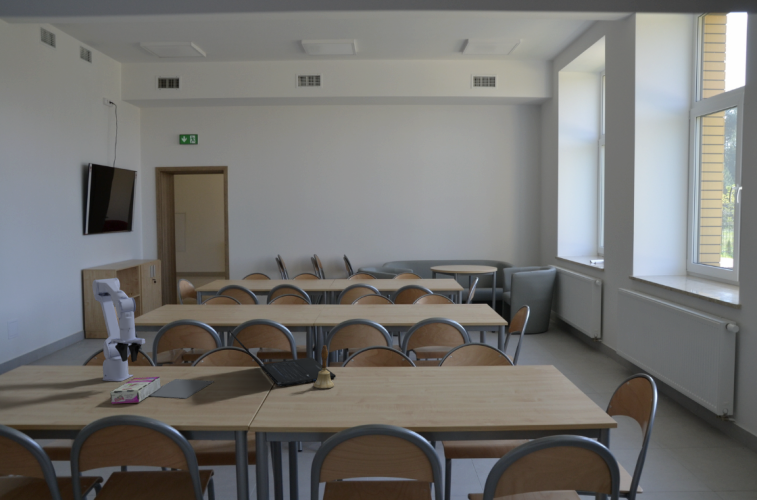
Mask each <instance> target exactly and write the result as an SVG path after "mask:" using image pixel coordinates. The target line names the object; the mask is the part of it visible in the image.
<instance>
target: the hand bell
mask: <svg viewBox="0 0 757 500" xmlns="http://www.w3.org/2000/svg"><path fill="white" fill-rule="evenodd" d="M328 355H329V351H328V347H327V345H326V344H324V345H322V349H321V354H320V356H321V360H322V361H321V362H322V364H321V365H322V370H321V371H319V373H318V378H317V380H316V381H314V382H313V383H312V384H313V385H312V387H315V388H317V389H330V388H334V387H335V384H334V382H333V381H332V378H330V372H329V371H330V370H329V371H327V370H326V368H327V361H328V360H327V359H328Z"/></svg>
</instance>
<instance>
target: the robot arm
mask: <svg viewBox="0 0 757 500" xmlns="http://www.w3.org/2000/svg"><path fill="white" fill-rule="evenodd" d="M91 286H92V292H93V298H94V300H95V301H97V302H99V303H100V307H101V310H102V315H103V319H104V320H103V321H104V322H105V327H106V333H107V336H108V337H107V338H106V339H105V340H104V342H103V344H102V348H103V356H104V358H105V359H104V361H103V363H102V373H103V374H102V375H103V376H102V377H103V378H102V379H101V380H102V381H107V382H108V381H110V382H123V381H125V380H127V379H129V378H131V377H134V374H129V363H128V361H129V360H128V358H129V356H130V359H131V363H134V362H136V361H137V359H138V356H139V351H140V349H141V347H142V345H144V344H146V339H145V338H142V337H136V326H135V312H136V308H137V307H136V306H137V305H136V300H135V298H134V297H129V296H128V294H126V293H125V291H124V290H122V289H121V282H120V280H119V278H118V277H114V278H103V279H94V280H93V281H92V285H91ZM114 305H115V306H114Z"/></svg>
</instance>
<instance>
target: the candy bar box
mask: <svg viewBox="0 0 757 500" xmlns="http://www.w3.org/2000/svg"><path fill="white" fill-rule="evenodd" d="M161 386H162V385H161V377H160V376H147V377H133V378H132V379H130V380H129V381H126V382H125V383H123V384H122V385H119V386H118V387H117V388H115V389H113V390H111V391H110V392H109V393H110V399H111V400H110V401H111V404H112V405H115V404H116V405H117V404H131V403H132V404H133V403H141V402H142V401H143V400H145V399H146V398H148V397H149V395H151V394H152V393H154V392H155V391H157V390H158V389H160V388H161Z"/></svg>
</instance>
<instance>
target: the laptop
mask: <svg viewBox="0 0 757 500" xmlns="http://www.w3.org/2000/svg"><path fill="white" fill-rule="evenodd" d="M228 332H229V333H230V334H231V336H232V337H233V338H234V339H235V340H236V341H237V343H239V345H240V346H241V347H242V348H243V350H245V351H246V353H247V354H248V355H249V356H250V357H251V358H252V359H253V361H255V363H257V365H258V366H259V367H260V368H261V369H262V370H263V372H265V374H266V375H267V376H268V377H269V378H270V379H271V380H272V381H273V382H274V384H275V385H276V386H277V387H280V388H281V387H288V386H294V385H295V386H296V385H301V384H308V383H312V382H313V383H315V382H316V380H317V378H318V373H319V371H321V370H322V364H321V363H320V362H319V361H317V360H316V359H315V358H313V357H312V356H311V357H304V358H296V359H290V360H283V361H276V362H270V363H264V364H261V363H260V361H258V359H256V358H255V356H254V354H252V353H251V352H250V351H249V349H248V348H247V347H246V346H245V345H244V344H243V342H241V340H239V338H238V337H237V336H236V335H235V334H234V333H233V332H232V331H231V330H230V329H229V330H228ZM326 370H327V371H329V372H330V378H331V379H334V378H336V375H337V374H335V373H333V372H332V371H331V370H329V369H328V368H327V367H326Z"/></svg>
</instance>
